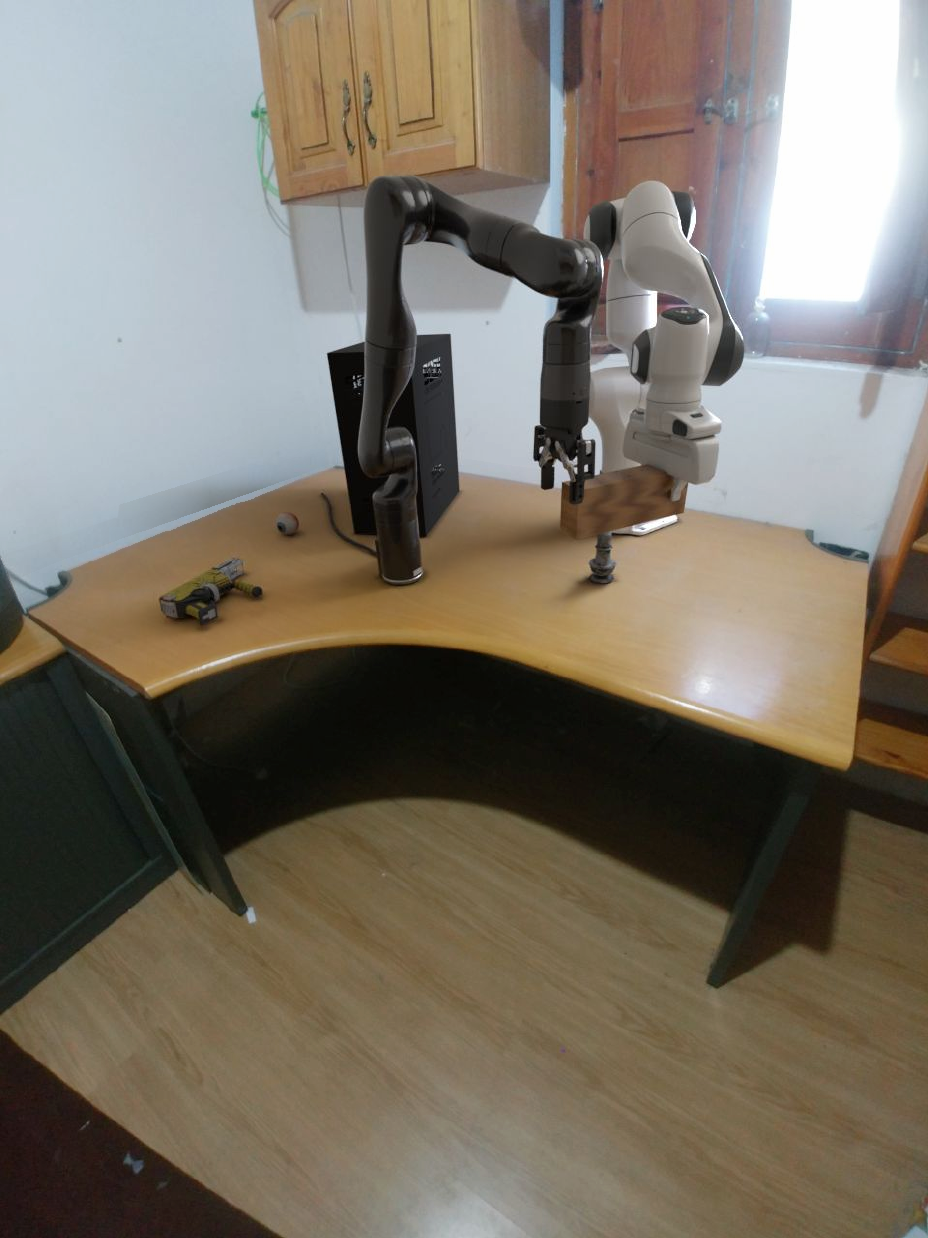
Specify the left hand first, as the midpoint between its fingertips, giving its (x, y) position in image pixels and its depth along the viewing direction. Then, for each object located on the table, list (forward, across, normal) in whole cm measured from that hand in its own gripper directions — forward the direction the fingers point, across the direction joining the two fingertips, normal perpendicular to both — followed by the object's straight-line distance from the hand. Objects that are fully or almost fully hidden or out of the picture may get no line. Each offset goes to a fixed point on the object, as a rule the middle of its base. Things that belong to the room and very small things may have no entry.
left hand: (561, 495), depth 100 cm
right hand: (+4, 0, +22) cm, 22 cm away
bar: (+7, 0, +14) cm, 15 cm away
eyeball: (+28, -80, -35) cm, 91 cm away
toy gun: (+27, -48, -55) cm, 78 cm away
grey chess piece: (+27, -15, +21) cm, 37 cm away
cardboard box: (+28, -79, +1) cm, 84 cm away
